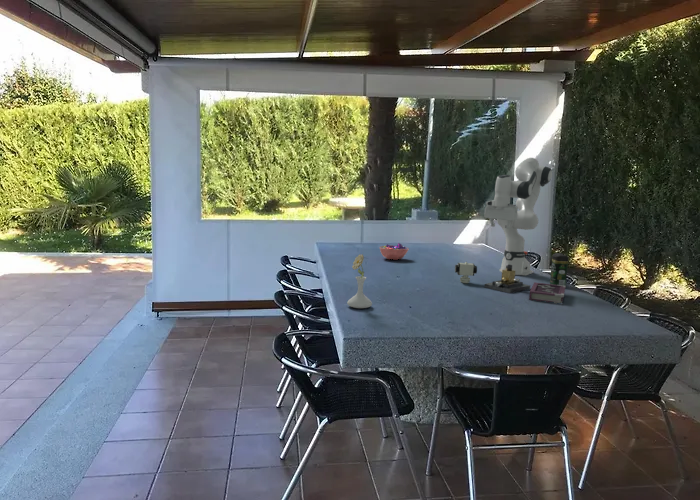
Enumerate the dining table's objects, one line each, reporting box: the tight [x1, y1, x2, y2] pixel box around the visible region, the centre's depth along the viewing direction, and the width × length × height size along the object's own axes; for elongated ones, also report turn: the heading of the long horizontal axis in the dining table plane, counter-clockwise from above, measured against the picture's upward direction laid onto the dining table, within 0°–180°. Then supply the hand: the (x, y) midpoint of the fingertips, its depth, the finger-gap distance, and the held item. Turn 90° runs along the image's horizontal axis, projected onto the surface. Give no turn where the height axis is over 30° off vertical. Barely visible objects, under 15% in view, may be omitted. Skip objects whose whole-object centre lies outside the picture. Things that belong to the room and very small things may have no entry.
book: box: [528, 281, 567, 304], centre depth 299 cm, size 25×16×5 cm, turn 158°
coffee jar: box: [549, 252, 569, 287], centre depth 327 cm, size 10×8×19 cm
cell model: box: [379, 242, 410, 261], centre depth 392 cm, size 17×20×11 cm
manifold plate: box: [483, 277, 532, 294], centre depth 316 cm, size 20×16×4 cm
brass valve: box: [500, 264, 516, 284], centre depth 315 cm, size 9×5×11 cm, turn 131°
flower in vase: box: [346, 253, 373, 309], centre depth 260 cm, size 13×11×25 cm
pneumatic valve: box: [454, 261, 478, 284], centre depth 326 cm, size 6×12×12 cm, turn 87°
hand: (499, 227), depth 331 cm, fingers open, 8 cm apart
